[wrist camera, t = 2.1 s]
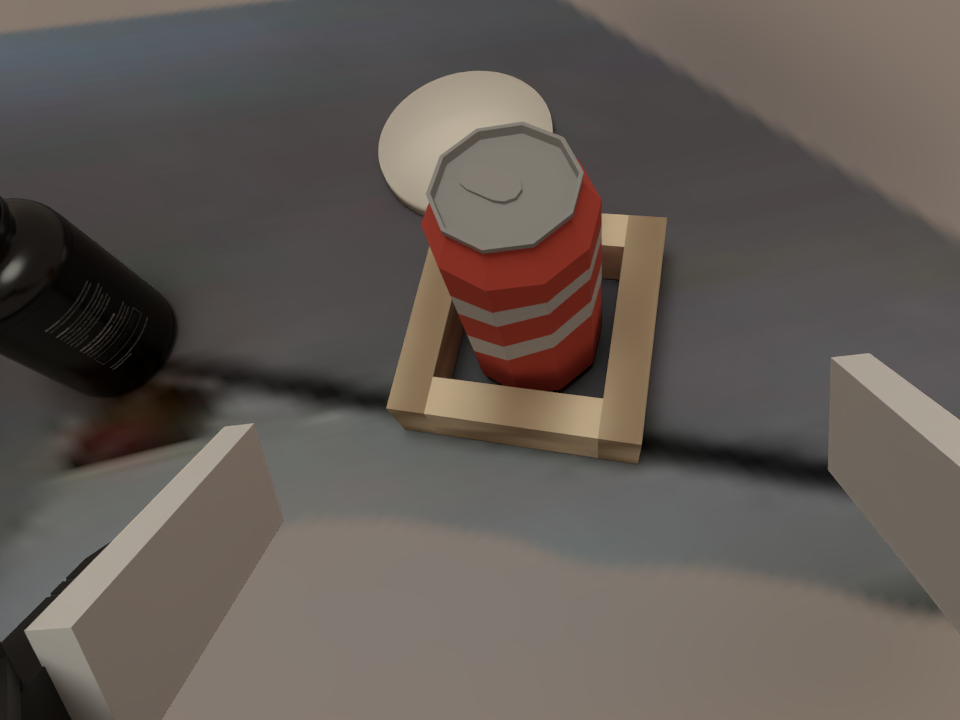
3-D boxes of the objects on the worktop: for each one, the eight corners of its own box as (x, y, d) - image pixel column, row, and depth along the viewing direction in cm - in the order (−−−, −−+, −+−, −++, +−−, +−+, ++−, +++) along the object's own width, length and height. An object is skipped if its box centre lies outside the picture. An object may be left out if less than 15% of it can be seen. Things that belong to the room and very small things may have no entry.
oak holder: (404, 429, 32) (386, 408, 29) (453, 237, 36) (440, 203, 33) (637, 464, 29) (641, 444, 26) (661, 253, 33) (667, 217, 30)
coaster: (364, 215, 37) (358, 204, 36) (406, 82, 41) (401, 69, 40) (537, 227, 35) (536, 216, 34) (566, 85, 39) (565, 72, 38)
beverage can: (514, 266, 34) (474, 88, 23) (624, 319, 32) (636, 149, 21) (449, 358, 33) (374, 215, 22) (560, 421, 30) (537, 295, 20)
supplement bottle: (160, 268, 38) (-14, 118, 27) (192, 359, 35) (11, 231, 24) (53, 326, 38) (-166, 196, 27) (77, 423, 35) (-158, 321, 24)
